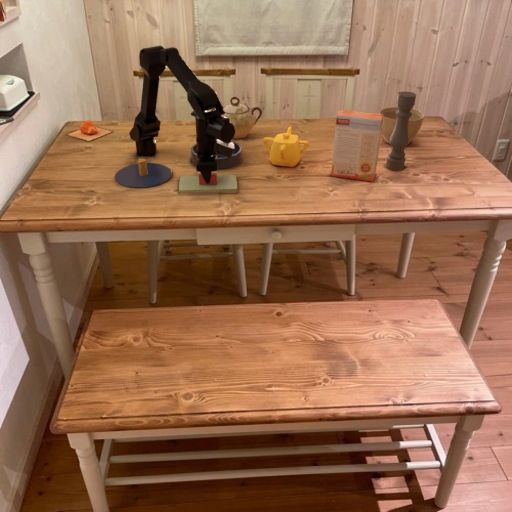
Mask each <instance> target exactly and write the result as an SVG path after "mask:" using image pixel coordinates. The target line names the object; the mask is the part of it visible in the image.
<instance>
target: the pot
mask: <svg viewBox="0 0 512 512" xmlns="http://www.w3.org/2000/svg"><path fill="white" fill-rule="evenodd" d="M230 142H233V144H234V147H235V149H234V151H233V154H232V157H231V158H228V157H227V156H224V155H221V154H218V153H217V156H216V158H215V159H216V160H217V171H223V170H229V169H232V168H235V167H237V166H239V165H240V164H241V163H242V160H243V156H242V155H243V154H242V153H243V149H242V146H241V145H240V143H237V142H235V141H233V140H231V141H230ZM190 159H191V160H190V161H191V163H192V164H193V165H194V166H196V160H197V159H198V157H197V143H194V144H193V145H192V146H191V147H190Z"/></svg>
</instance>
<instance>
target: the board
mask: <svg viewBox="0 0 512 512" xmlns="http://www.w3.org/2000/svg"><path fill="white" fill-rule="evenodd" d="M237 182H238V181H237V175H236V174H217V184H209V185H199V175H181V176H179V184H178V193H179V194H191V193H192V194H195V193H196V194H197V193H218V194H238V183H237Z"/></svg>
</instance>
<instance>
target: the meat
mask: <svg viewBox="0 0 512 512" xmlns="http://www.w3.org/2000/svg"><path fill="white" fill-rule="evenodd" d="M217 171H218V170H217ZM217 171H212V174H211V179H210V183H209V184H217V175H218V172H217ZM198 176H199V185H209V184H206V182H205V180H204V179H203V177H202V175H201V173H200V172H198Z"/></svg>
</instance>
